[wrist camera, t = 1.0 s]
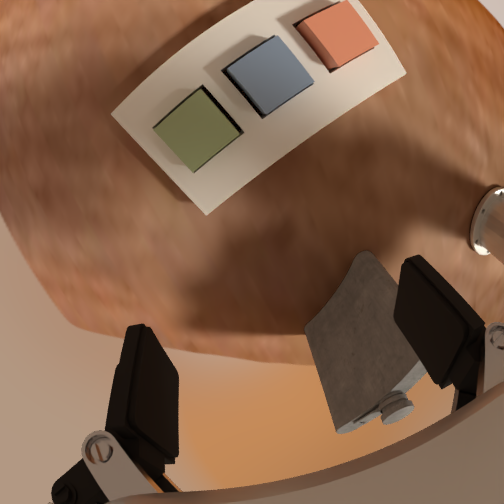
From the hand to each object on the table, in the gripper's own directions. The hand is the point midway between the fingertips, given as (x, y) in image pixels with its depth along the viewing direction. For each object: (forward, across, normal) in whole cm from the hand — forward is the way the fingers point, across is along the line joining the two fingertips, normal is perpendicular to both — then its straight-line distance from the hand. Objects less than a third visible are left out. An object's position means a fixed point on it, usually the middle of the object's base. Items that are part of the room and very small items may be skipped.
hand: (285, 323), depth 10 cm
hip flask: (+22, -11, +21) cm, 32 cm away
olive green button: (+21, +2, -5) cm, 21 cm away
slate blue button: (+20, -5, -9) cm, 23 cm away
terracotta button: (+20, -12, -12) cm, 26 cm away
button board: (+22, -5, -9) cm, 24 cm away
